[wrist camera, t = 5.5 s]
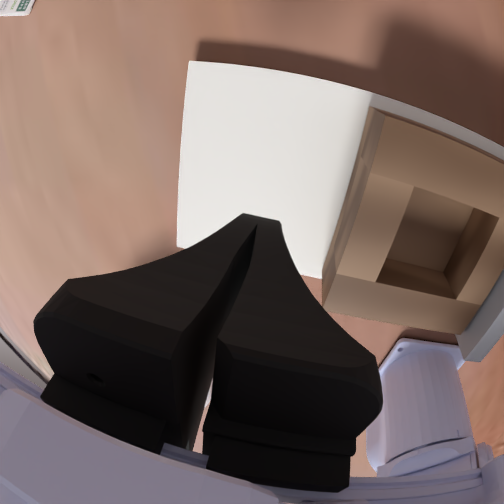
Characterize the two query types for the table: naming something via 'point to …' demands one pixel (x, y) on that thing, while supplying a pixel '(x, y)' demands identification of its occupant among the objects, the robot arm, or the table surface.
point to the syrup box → (15, 7)
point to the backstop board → (291, 164)
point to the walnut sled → (416, 228)
